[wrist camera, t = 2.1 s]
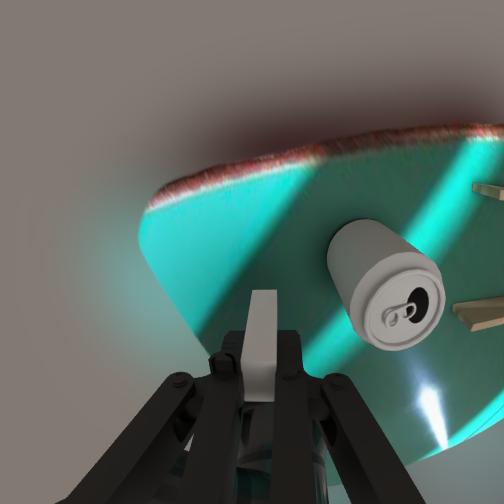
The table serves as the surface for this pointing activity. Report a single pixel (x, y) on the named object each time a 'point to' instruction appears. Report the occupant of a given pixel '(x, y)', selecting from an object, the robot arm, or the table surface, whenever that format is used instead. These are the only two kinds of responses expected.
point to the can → (385, 285)
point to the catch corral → (487, 309)
